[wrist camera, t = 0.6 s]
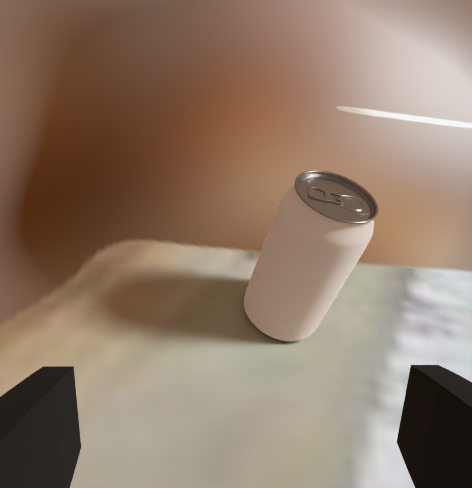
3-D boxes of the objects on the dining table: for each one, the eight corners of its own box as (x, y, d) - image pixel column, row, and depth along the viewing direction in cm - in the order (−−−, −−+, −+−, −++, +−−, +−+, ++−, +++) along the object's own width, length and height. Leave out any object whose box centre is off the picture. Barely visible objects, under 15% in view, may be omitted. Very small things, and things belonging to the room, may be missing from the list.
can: (317, 354, 31) (392, 239, 24) (236, 332, 31) (286, 208, 23) (316, 293, 36) (378, 182, 29) (247, 274, 36) (290, 156, 28)
